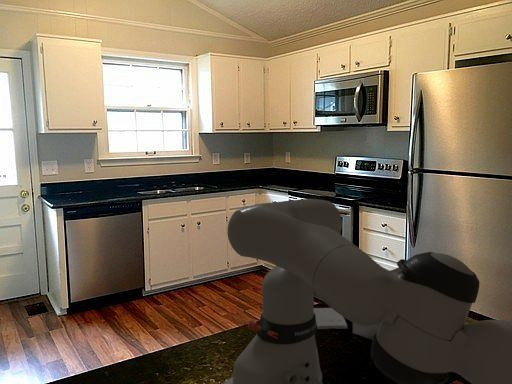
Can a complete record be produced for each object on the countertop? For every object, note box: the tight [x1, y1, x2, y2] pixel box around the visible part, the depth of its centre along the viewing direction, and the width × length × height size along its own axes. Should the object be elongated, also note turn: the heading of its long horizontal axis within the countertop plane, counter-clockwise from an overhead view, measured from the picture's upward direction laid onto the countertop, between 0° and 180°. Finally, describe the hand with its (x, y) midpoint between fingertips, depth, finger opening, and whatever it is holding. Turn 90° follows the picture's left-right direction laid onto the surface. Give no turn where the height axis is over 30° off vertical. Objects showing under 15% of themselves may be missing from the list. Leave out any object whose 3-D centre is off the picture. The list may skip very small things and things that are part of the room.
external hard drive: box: [314, 307, 348, 330], centre depth 125 cm, size 2×8×12 cm
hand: (484, 331), depth 103 cm, fingers open, 8 cm apart
